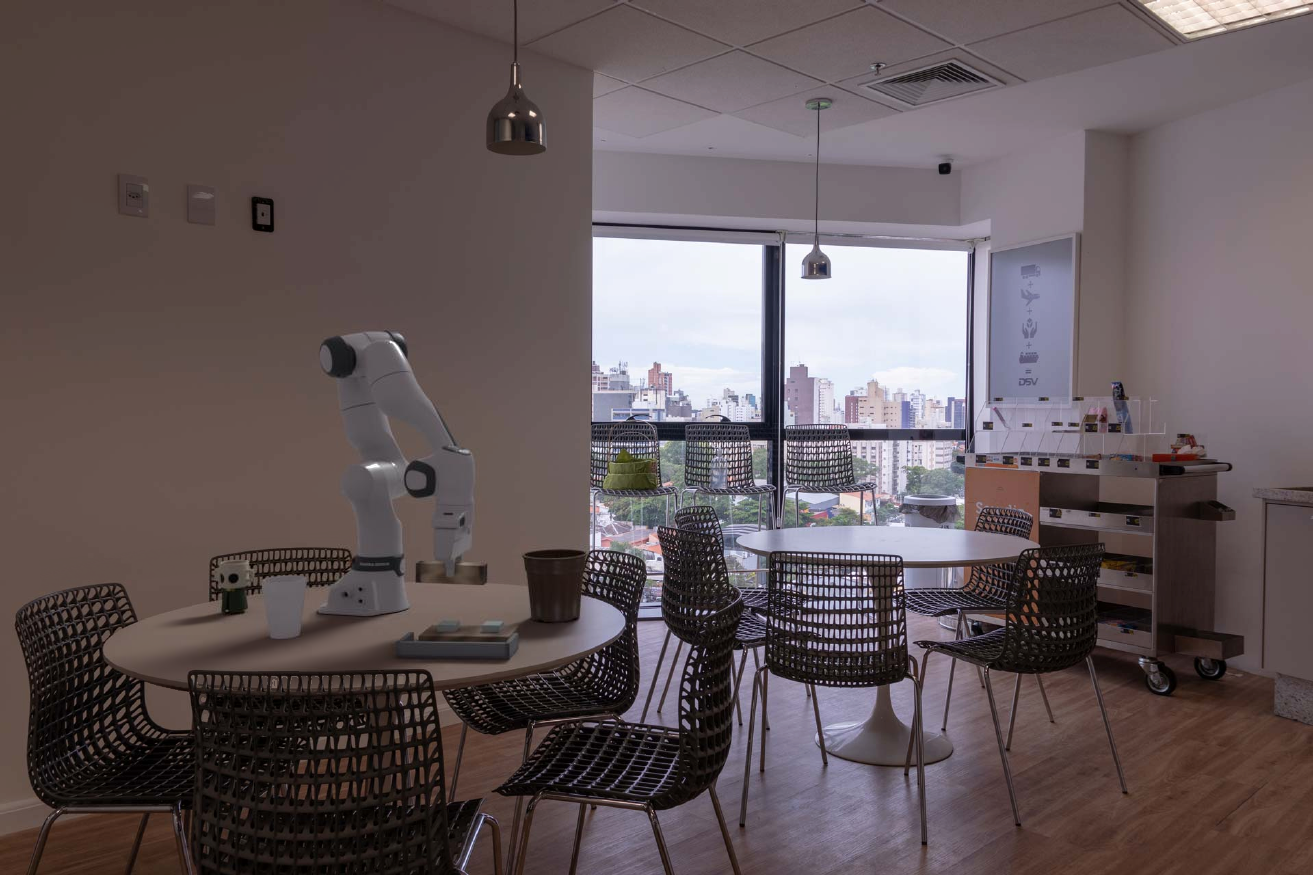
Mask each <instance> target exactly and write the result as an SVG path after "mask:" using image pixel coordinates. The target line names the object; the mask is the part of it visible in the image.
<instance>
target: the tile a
mask: <svg viewBox="0 0 1313 875" xmlns="http://www.w3.org/2000/svg"><path fill="white" fill-rule="evenodd" d="M436 625H437V632H455V631H457V630H458V629H459V628H460V625H461V622H460V620H442V621H440V622H439V623H438V624H436Z"/></svg>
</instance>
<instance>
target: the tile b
mask: <svg viewBox="0 0 1313 875" xmlns="http://www.w3.org/2000/svg"><path fill="white" fill-rule="evenodd" d="M504 622H505V621H504V620H499V621H498V620H491V621H490V620H487V621H484V622H483V624H481V626H482V632H500V631H501V630H502V629H503V628H504V626H505V623H504Z"/></svg>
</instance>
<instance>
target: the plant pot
mask: <svg viewBox="0 0 1313 875" xmlns="http://www.w3.org/2000/svg"><path fill="white" fill-rule="evenodd" d="M587 556H588V552H587V551H586V550H581V549H572V548H571V549H569V548H567V549H566V548H553V549H541V550H540V549H538V550H530V551H526V552H524V553H522V554H521V558H523V562H524V563H523V564H524V571H525V572H526V579H527V589H528V596H529V607H530V608H529V610H530V618H531V619H532V620H533V621H537V622H539V621H543V622H544V623H563V622H569V621H573V620H574V619H579V618H580V616H581V604H582V603H581V602H582V591H583V590H582V589H583V578H584V570H585V568H586V558H587Z"/></svg>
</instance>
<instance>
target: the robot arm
mask: <svg viewBox="0 0 1313 875" xmlns="http://www.w3.org/2000/svg"><path fill="white" fill-rule="evenodd" d="M318 356H319V363H320V366H321V368H322V370H323V371H324V372H325V374H326V375H327V376H329V377H331V378H335V379H336V387H337V388H336V389H337V390H336V391H337V399H338V406H339V410H340V416H341V418H342V423H343V427H344V432H345V437H346V440H347V442H348V443H349V445H350V446H352V448H354V450H356V452H357V453H358V454H357V455H359V457H360V459H361V460H360V461H358V462H356V463H354V464H351V465H350V466H348V467H347V468H345V470H344V471H343V472H342V474H341V477H340V481H339V484H340V490H341V492H342V494H343V496H344V497H345V498H346V499H347V500H348V501H349V503H350V506H351V507H352V510H353V514H354V517H355V522H356V527H357V528H356V529H357V554H356V555H354V556H353V557H352V558H350V559H349V560H348V561H349V563H348V565H350V566H351V567H350V568H351V569H350V570H349V571H348V572H346V573H345V574H344V575H343V576H342V577H340V578H339V579H338V580H337V581H335V582H334V583H333V584H331V586H330V588H329V591H328V595H327V602H325V603H323V604H321V605H320V606H319V607H318V613H319V614H325V615H326V614H327V615H343V616H344V615H345V616H346V615H347V616H357V617H358V616H360V617H362V616H363V617H372V616H377V615H382V614H389V613H395V612H400V611H404V610H406V609H409V608H410V603H409V601H408V600H409V599H408V596H407V592H406V587H405V577H404V575H405V570H406V567H405V566H406V561H405V554H404V552H403V524H402V522H401V520H400V519H399V518H398V517H397V515H396V512H395V509H394V505H393V500H395V499H399V498H402V497H403V496H404V495H406V494H407V493H408V494H409V495H410V496H411V497H412V498H414V499H418V500H419V499H420V500H429V499H435V511H434V515H433V516H432V518H431V522H430V523H431V524H430V526H431V528H434V529H433V532H432V534H433V537H432V539H433V542H432V543H433V544H432V545H433V556H434V559H435V561H439V562H444V563H445V567H446V576H447V577H453V576H455V566H454V562H463V558H464V554H465V553H466V552H467V551H469V550H471V548H472V545H473V544H472V543H473V529H472V528H473V526H472V525H473V524H474V523H475V499H474V489H475V485H476V466H475V464H476V463H475V459H474V455H473V453H472V451H471V450H469V449H468V448H467V447H463V446H459V445H458V443H457V442H456V441H455V438H454V437H453V435H452V433H451V431H450V428H449V427H448V425H447V423H446V422H445V420H444V418H443V416H442V414H441V412H440V411H439V409H438V408H437V406H436V405H435V404H434V403H433V402H432V401H431V400H430V399H429V397H428V396H427V395H426V394H425V393H424V391H423V389H422V388H421V386H420V385H419V383H418V381H417V380H416V379H417V378H416V377H415V374H414V372H413V369H412V367H411V365H410V363H409V361H408V357H409V350H408V345H407V342H406V340H405V337H403V335H402V334H401V333H399V332H396V331H394V330H393V331H392V330H383V331H360V332H358V333H350V334H344V335H341V336H340V335H336V336H335V335H334V336H332V337H328V338H326V339H324V340H323V341H322V343H321V346H320V348H319V355H318ZM388 417H389V418H391V419H394V420H396V421H400V422H402V423H405V424H407V425H409V426H412V427H413V428H416V429H417V430H418V431H419V432H420V433H421V434H422V435H423V436H424V438H425V439H426V440H425V441H426V442H427V444H428V446H429V447H430V449H431V451H432V454H431V455H428V456H426V457H422V458H418V459H416V460H412V461H411V462H408V461H407V459H406V458H405V456H404V455H403V453H402V452H401V450H400V447H399V445H398V443H397V442H396V439H395V438H394V434H393V433H392V429H391V425H390V422H389V419H388Z"/></svg>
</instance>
